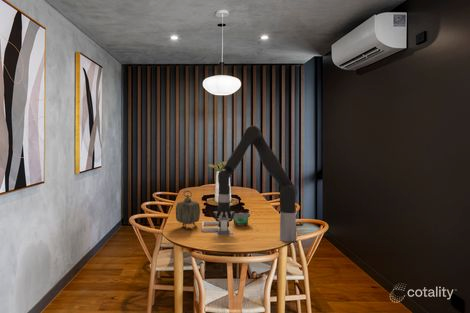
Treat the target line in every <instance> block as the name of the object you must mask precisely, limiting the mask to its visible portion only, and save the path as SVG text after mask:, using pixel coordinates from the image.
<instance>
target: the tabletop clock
mask: <svg viewBox="0 0 470 313" xmlns="http://www.w3.org/2000/svg"><path fill="white" fill-rule="evenodd" d="M185 193H190V195H189V194H188V195H186V194H185ZM183 196H184V197H185V198H184V199H183V201H182V200H181V201H180V202H179V201H178V202H177V203H176V206H175V219H176V221H177V222H178V223H181V224H182V226H183V228H184V229H187V225H191V224H193V225H194V227H195V228H197V227H198V226H197V225H196V224H195V223H197V222H199V221H200V216H201V206H200V203H199V202H197V201H194V200H192V198H191V197H192V196H193V193H192V192H191V191H189V190H185V191H184V192H183Z"/></svg>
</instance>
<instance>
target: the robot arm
mask: <svg viewBox="0 0 470 313" xmlns="http://www.w3.org/2000/svg"><path fill="white" fill-rule="evenodd" d="M241 137H242V138H241V139H240V140H239V143H238V144H237V146H236V148H235V149H234V150H233V152H232V153H231V155H230V156H229V158H228V159H227V160H226V163H225V165H224V166H223V167H222V169H221V170H220V171H219V172H218V174H217V179H218V180H217V181H218V196H217V198H218V199H217V203H218V204H217V211H213V212H212V213H213V216H214V221H218V222H219V225H217V226H219V227H220V228H221V218H222V217H226V218H227V228H229V227H230V222H233V216H234V214H235V213H236V212H235V211H231V193H230V192H231V190H230V188H231V186H230V177H231V176H232V175H233V174H234V171H235V170H236V169H237V167H238V166H239V164H240V163H241V161H242V160H243V158H244V157H245V154H246V152H247V150H248V149H249V147H250V146H251V145H253V146H254V148H255V149H256V152H257V153H258V157H259V159H260V161H261V163H262V165H263V167H264V168H265V170H266V172H267V173H269V175H270V176H271V177H272V178H273V179H274V180H275V181H276V182H277V184H278V186H279V187H280V190H279V210H280V216H279V219H280V221H279V240H280V241H281V242H286V243H293V242H297V223H296V221H297V220H296V219H297V207H296V197H297V195H298V189H297V188H296V186H295V185H294V183H293V182H292V181H291V180H290V178H289V177H288V176H287V173H286V171H285V170H284V168H283V166H282V164H281V163H280V160H279V159H278V158H277V155H275V153H274V151H273V150H272V149H271V148H270V145H268V143H267V141H266V139H265V137H264V136H263V133H262V131H261V129H260V128H259V127H258V126H256V125H249V126H248V127H246V129H245V130H244V133H243V135H242V136H241ZM217 214H218V215H219V216H218V215H217ZM229 215H230V218H229ZM217 216H218V217H217Z"/></svg>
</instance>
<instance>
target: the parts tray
mask: <svg viewBox="0 0 470 313" xmlns="http://www.w3.org/2000/svg"><path fill="white" fill-rule="evenodd" d="M218 225H219V222H218V221H216V220H214V221H202V224H201V232H203V233H204V232H206V233H207V232H214V231H218V228H220V227H219V226H218ZM204 226H218V227H204Z"/></svg>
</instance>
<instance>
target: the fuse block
mask: <svg viewBox="0 0 470 313" xmlns="http://www.w3.org/2000/svg"><path fill="white" fill-rule="evenodd" d="M217 228H218V227H217ZM213 235H214V236H216V235H217V236H218V235H220V236H221V235H223V236H224V235H228V236H229V235H234V231H233V230H230V228H229V227H228V228H227V231H220V228H218V231H213Z"/></svg>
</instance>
